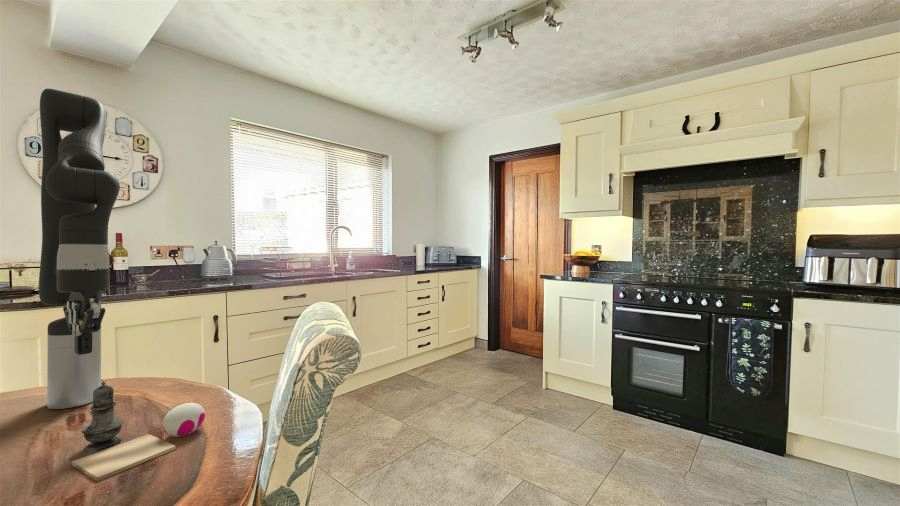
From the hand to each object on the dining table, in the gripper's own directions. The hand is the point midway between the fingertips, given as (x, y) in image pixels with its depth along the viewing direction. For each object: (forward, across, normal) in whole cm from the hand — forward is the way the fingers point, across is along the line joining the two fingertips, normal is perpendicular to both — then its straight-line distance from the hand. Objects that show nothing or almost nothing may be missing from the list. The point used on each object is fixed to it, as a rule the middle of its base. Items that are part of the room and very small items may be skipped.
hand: (83, 353), depth 74 cm
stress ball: (+17, +18, +10) cm, 26 cm away
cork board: (+16, +18, 0) cm, 24 cm away
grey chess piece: (+16, +9, 0) cm, 19 cm away
